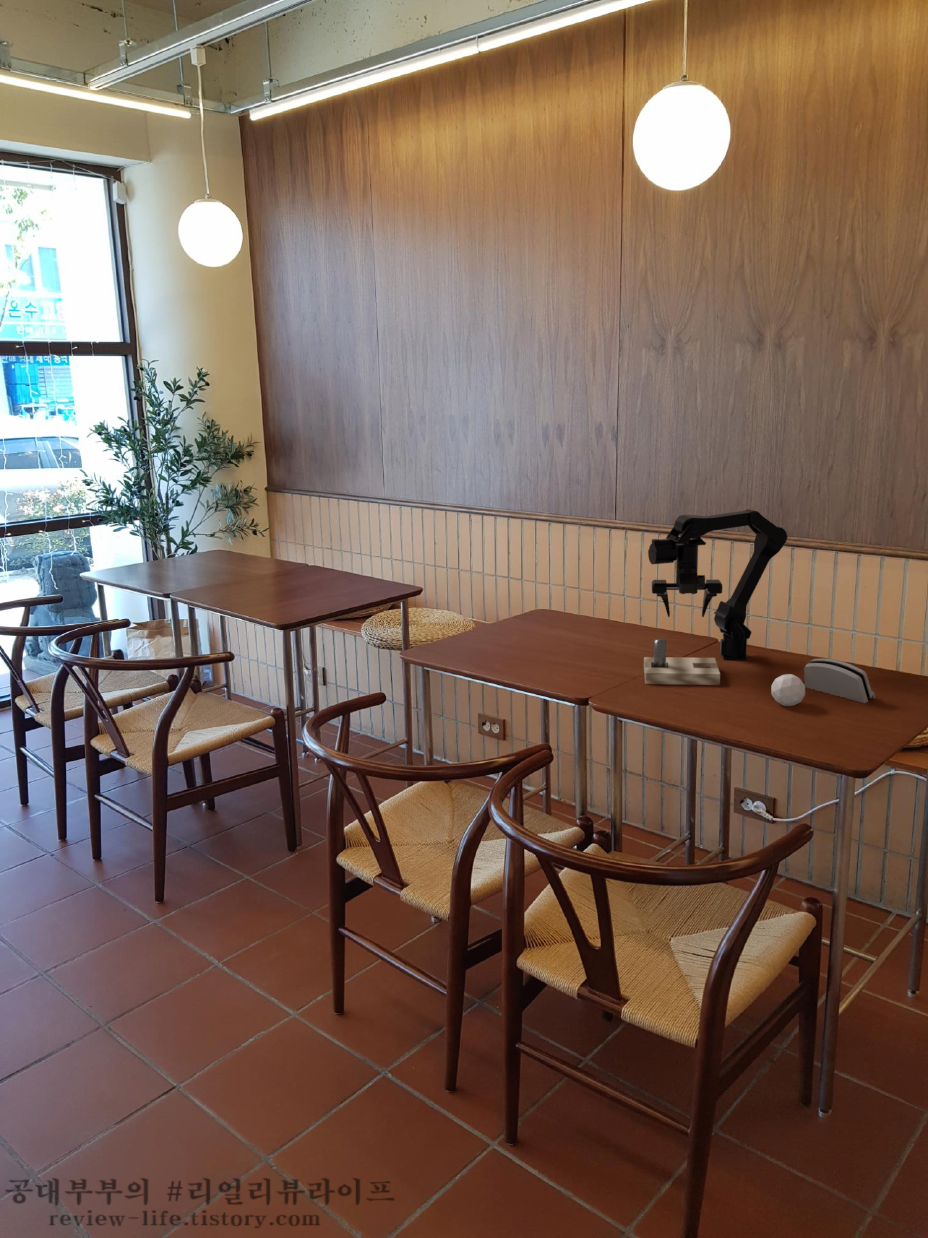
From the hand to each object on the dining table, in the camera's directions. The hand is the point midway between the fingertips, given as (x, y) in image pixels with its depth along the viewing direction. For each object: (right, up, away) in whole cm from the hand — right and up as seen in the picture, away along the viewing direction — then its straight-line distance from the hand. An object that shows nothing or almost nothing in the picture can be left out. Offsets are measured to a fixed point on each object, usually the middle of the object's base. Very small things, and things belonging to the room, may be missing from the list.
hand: (685, 616), depth 260 cm
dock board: (-3, -16, -9) cm, 18 cm away
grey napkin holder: (+31, -20, -27) cm, 45 cm away
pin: (-9, -16, -8) cm, 20 cm away
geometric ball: (+17, -22, -33) cm, 43 cm away
